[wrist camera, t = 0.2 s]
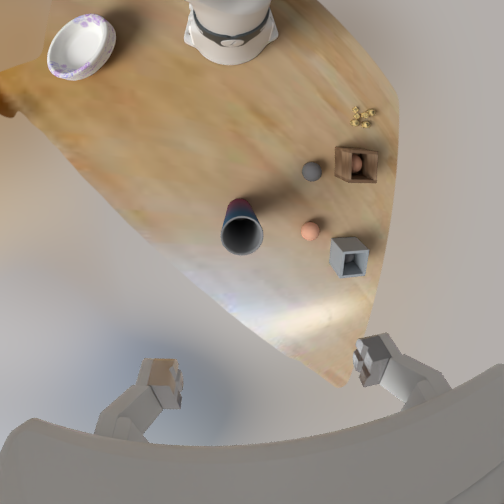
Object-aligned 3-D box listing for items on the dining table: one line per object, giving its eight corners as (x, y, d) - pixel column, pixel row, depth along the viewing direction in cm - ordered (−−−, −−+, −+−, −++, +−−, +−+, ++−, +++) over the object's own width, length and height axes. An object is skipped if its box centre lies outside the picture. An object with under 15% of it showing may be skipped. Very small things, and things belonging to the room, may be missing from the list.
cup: (258, 197, 56) (267, 219, 43) (251, 227, 59) (258, 258, 45) (226, 191, 55) (224, 212, 42) (220, 222, 58) (217, 252, 44)
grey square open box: (331, 238, 61) (342, 251, 55) (355, 236, 62) (369, 249, 55) (329, 262, 64) (339, 278, 57) (352, 260, 64) (365, 275, 58)
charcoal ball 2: (336, 243, 62) (342, 250, 58) (351, 242, 62) (358, 249, 58) (334, 258, 63) (340, 266, 60) (349, 257, 64) (356, 265, 60)
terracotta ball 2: (340, 152, 53) (348, 154, 49) (357, 153, 53) (365, 155, 49) (340, 170, 54) (347, 173, 51) (357, 171, 55) (365, 174, 51)
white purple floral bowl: (124, 16, 35) (111, 3, 28) (118, 73, 42) (103, 66, 35) (68, 34, 34) (51, 26, 27) (62, 89, 41) (43, 87, 34)
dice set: (372, 110, 49) (376, 110, 48) (368, 131, 51) (372, 131, 50) (352, 103, 49) (356, 102, 47) (348, 124, 51) (352, 124, 49)
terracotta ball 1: (299, 220, 59) (304, 226, 55) (316, 219, 59) (322, 225, 56) (299, 237, 61) (303, 244, 57) (316, 236, 61) (321, 242, 57)
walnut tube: (335, 146, 52) (349, 149, 46) (361, 148, 53) (377, 151, 46) (334, 175, 55) (348, 182, 49) (360, 176, 56) (376, 183, 49)
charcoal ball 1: (300, 161, 53) (304, 163, 50) (318, 161, 54) (324, 163, 50) (300, 179, 55) (304, 183, 52) (318, 179, 55) (324, 183, 52)
